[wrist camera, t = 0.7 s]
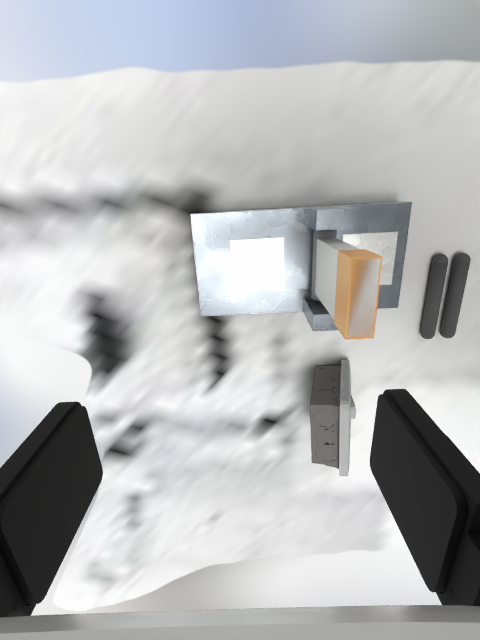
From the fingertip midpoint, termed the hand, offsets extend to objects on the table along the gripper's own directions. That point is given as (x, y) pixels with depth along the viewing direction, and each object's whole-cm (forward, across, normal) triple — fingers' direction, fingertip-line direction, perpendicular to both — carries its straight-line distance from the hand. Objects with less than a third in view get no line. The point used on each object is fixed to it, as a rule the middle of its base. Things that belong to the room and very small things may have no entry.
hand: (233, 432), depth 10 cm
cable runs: (+25, -22, +4) cm, 34 cm away
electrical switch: (+26, -10, +16) cm, 32 cm away
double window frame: (+25, -6, -1) cm, 26 cm away
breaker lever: (+21, -8, -1) cm, 22 cm away
